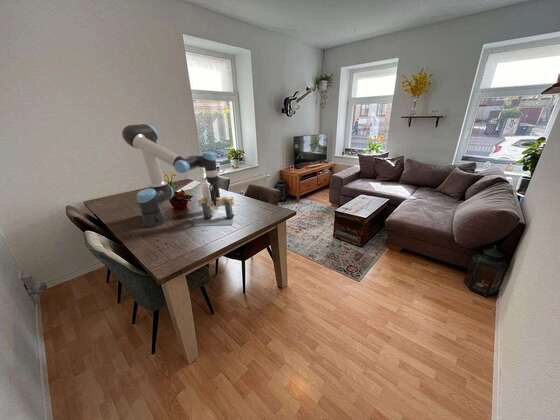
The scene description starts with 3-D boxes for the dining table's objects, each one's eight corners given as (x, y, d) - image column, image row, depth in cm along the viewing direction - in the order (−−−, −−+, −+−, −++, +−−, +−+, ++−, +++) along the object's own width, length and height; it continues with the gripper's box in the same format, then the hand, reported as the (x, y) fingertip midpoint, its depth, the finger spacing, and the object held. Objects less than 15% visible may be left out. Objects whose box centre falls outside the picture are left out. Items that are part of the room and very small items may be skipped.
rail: (199, 206, 155) (197, 199, 153) (201, 204, 159) (199, 197, 157) (233, 205, 155) (232, 198, 153) (234, 203, 158) (233, 196, 156)
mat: (193, 226, 150) (193, 225, 149) (197, 221, 156) (197, 221, 156) (231, 225, 149) (231, 224, 149) (233, 220, 155) (233, 219, 155)
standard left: (203, 220, 158) (199, 204, 153) (206, 216, 164) (203, 200, 159) (210, 220, 158) (207, 203, 153) (212, 215, 164) (210, 200, 159)
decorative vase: (214, 214, 166) (209, 182, 156) (201, 214, 168) (195, 182, 158) (221, 209, 176) (216, 178, 166) (208, 208, 178) (203, 178, 168)
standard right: (225, 219, 157) (222, 203, 152) (227, 215, 164) (225, 199, 159) (232, 219, 157) (230, 203, 152) (234, 215, 164) (232, 199, 159)
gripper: (213, 179, 140) (219, 212, 149) (221, 172, 157) (225, 203, 166) (202, 179, 140) (208, 213, 150) (210, 172, 157) (215, 203, 166)
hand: (217, 207), depth 158 cm, fingers open, 5 cm apart
